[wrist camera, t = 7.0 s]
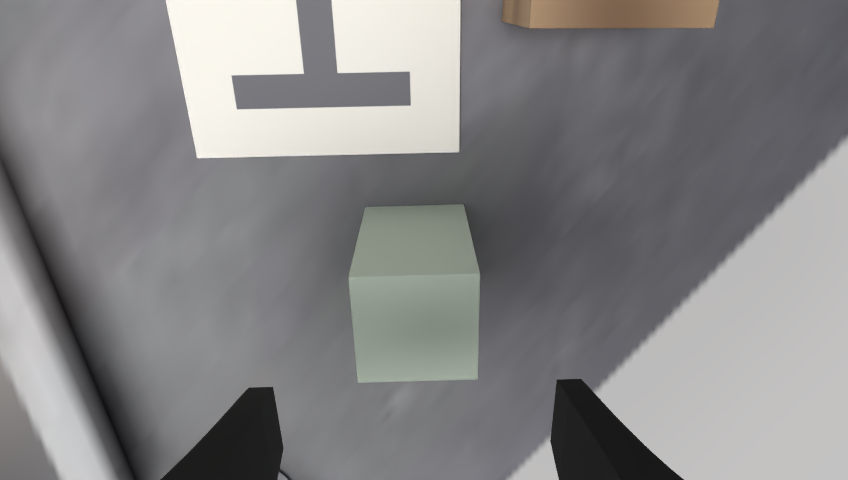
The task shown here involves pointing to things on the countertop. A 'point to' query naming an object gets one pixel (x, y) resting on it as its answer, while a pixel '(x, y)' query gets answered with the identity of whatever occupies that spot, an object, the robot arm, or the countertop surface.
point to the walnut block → (610, 13)
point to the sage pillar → (415, 295)
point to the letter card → (319, 76)
